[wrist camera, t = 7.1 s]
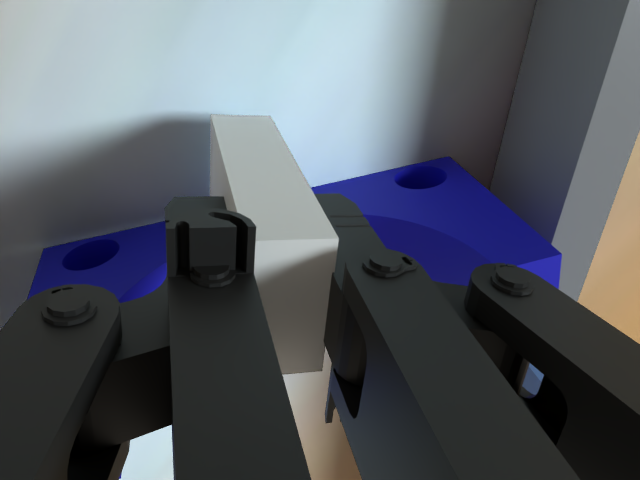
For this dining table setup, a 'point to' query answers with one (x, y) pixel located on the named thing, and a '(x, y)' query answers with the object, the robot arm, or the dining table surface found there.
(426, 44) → the dining table surface
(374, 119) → the dining table surface
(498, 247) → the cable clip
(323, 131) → the dining table surface
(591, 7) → the blue grey block group
